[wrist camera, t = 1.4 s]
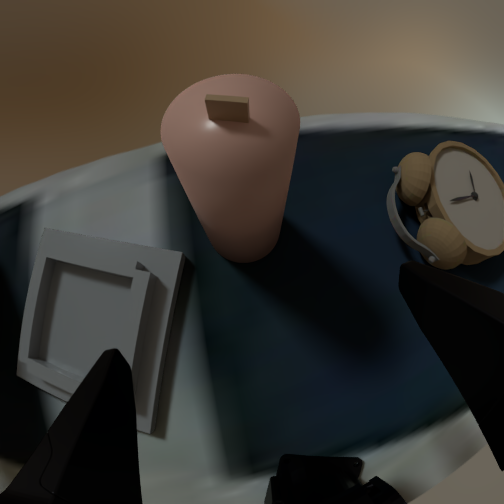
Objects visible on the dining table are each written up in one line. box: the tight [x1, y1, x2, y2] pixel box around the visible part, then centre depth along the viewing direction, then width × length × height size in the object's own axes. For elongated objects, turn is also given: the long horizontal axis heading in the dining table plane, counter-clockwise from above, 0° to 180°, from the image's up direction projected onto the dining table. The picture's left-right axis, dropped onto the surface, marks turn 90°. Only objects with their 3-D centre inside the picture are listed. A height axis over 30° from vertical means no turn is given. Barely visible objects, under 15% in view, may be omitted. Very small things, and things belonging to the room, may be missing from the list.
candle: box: [161, 74, 300, 263], centre depth 17 cm, size 6×6×14 cm
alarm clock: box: [387, 141, 504, 270], centre depth 22 cm, size 11×5×15 cm
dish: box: [17, 228, 186, 434], centre depth 21 cm, size 14×14×3 cm
